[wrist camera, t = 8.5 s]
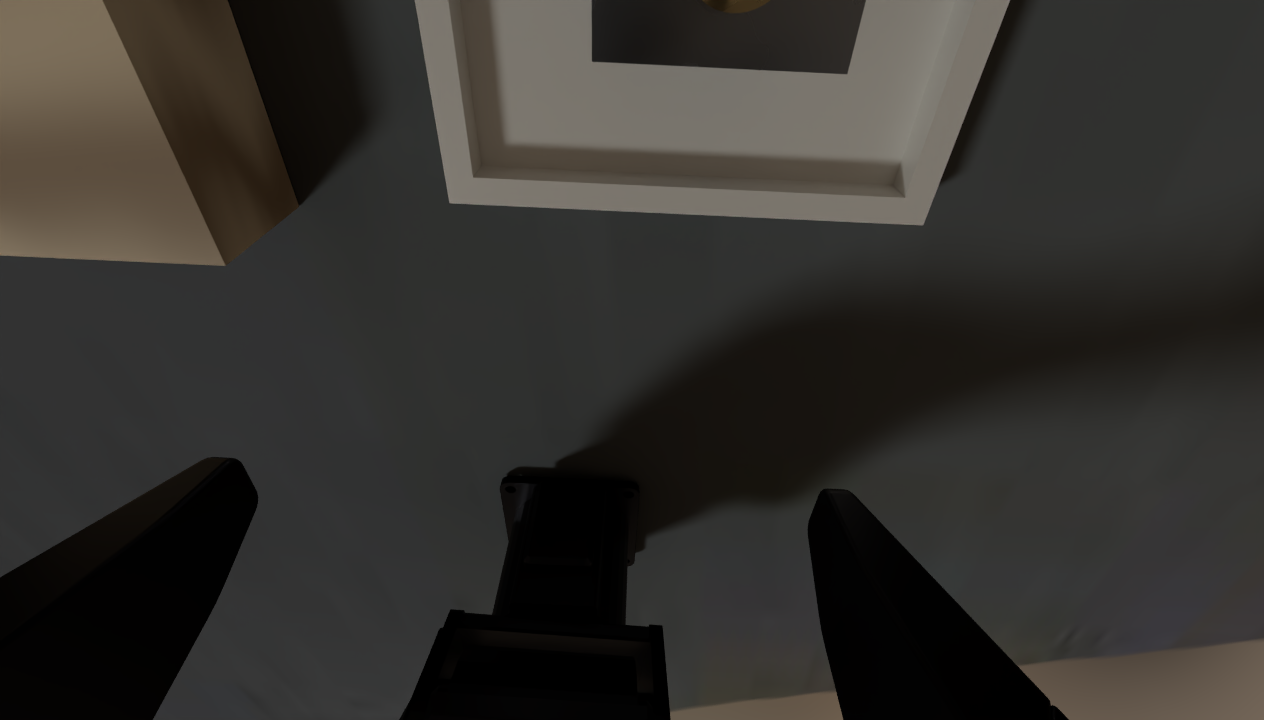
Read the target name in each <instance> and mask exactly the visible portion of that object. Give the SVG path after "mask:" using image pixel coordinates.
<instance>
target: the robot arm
mask: <svg viewBox="0 0 1264 720" xmlns="http://www.w3.org/2000/svg"><path fill="white" fill-rule="evenodd" d="M628 491H629V492H628ZM500 493H501V499H502V505H503V511H504V517H505V523H506V528H507V534H508V540H509V543H508V547H507V551H506V556H505V560H504V565H503V569H502V573H501V578H500V582H499V587H498V591H497V595H496V600H495V604H494V609H493V613H492V615H487V614H474V613H465V611H464V610H453V609H451V610H450V612H449V614H448V617H447V619H446V622H445V624H444V627H443V628H440V629H439V631H438V634H437V636H436V639H435V641H434V644H433V646H432V649H431V651H430V654H429V656H428V658H427V661H426V663H425V666H424V668H423V671H422V673H421V676H420V678H419V680H418V683H417V685H416V688H415V690H414V693H413V695H412V698H411V700H410V701H409V703H408V705H407V707H406V709H405V710H404V712H403V714H402V716H401V718H400V719H399V720H670V708H669V697H668V685H667V673H666V662H665V650H664V638H663V627H662V625H650V624H649V627H645V626H631V625H625V624H626V594H627V566H631V565H632V564H634V561H635V547H636V534H637V520H638V506H639V486H638V484H637V483H635V482H631V481H615V480H592V479H570V478H547V477H525V476H507V477H504V478H503V479H502V482H501V486H500ZM257 504H258V494H257V491H256V489H255V487H254V485H253V483H252V481H251V479H250V477H249V475H248V474H247V472H246V470H245V468H244V466H243V464H242V463H241V462H240V461H239V460H237V459H235V458H222V457H210V458H206V459H204V460H202V461H200V462H198V463H196V464H194V465H193V466H191V467H189V468H188V469H186V470H184V471H182V472H181V473H179V474H177V475H176V476H174V477H172V478H170V479H169V480H167V481H165V482H164V483H162V484H160V485H158V486H157V487H155V488H153V489H151V490H150V491H148V492H146V493H145V494H143V495H141V496H139V497H138V498H136V499H134V500H133V501H131V502H129V503H127V504H126V505H124V506H122V507H121V508H119V509H117V510H115V511H114V512H112V513H110V514H109V515H107V516H105V517H103V518H102V519H100V520H98V521H96V522H95V523H93V524H91V525H90V526H88V527H86V528H84V529H83V530H81V531H79V532H78V533H76V534H74V535H72V536H71V537H69V538H67V539H66V540H64V541H62V542H60V543H59V544H57V545H55V546H53V547H52V548H50V549H48V550H47V551H45V552H43V553H41V554H40V555H38V556H36V557H35V558H33V559H31V560H29V561H28V562H26V563H24V564H22V565H21V566H19V567H17V568H16V569H14V570H12V571H10V572H9V573H7V574H5V575H4V576H2V577H0V720H153V718H154V716H155V715H156V713H157V711H158V709H159V707H160V705H161V704H162V702H163V700H164V698H165V696H166V694H167V693H168V691H169V689H170V687H171V685H172V683H173V682H174V680H175V678H176V676H177V674H178V672H179V671H180V669H181V667H182V665H183V663H184V661H185V660H186V658H187V656H188V654H189V652H190V650H191V649H192V647H193V645H194V643H195V641H196V639H197V638H198V636H199V634H200V632H201V630H202V628H203V627H204V625H205V623H206V621H207V619H208V617H209V615H210V614H211V612H212V610H213V608H214V606H215V604H216V602H217V600H218V597H219V595H220V593H221V591H222V589H223V587H224V584H225V582H226V580H227V577H228V575H229V573H230V570H231V568H232V565H233V563H234V561H235V558H236V556H237V554H238V551H239V549H240V546H241V544H242V542H243V539H244V537H245V535H246V532H247V530H248V527H249V525H250V523H251V520H252V518H253V516H254V513H255V511H256V508H257ZM808 539H809V547H810V554H811V561H812V568H813V576H814V583H815V590H816V597H817V604H818V612H819V618H820V625H821V631H822V635H823V640H824V644H825V648H826V652H827V656H828V660H829V664H830V668H831V672H832V676H833V680H834V684H835V688H836V692H837V696H838V700H839V704H840V708H841V712H842V716H843V720H1069V719H1068V718H1067V717H1066V716H1065V715H1064V714H1063V713H1062V712H1061V711H1060V710H1059V709H1058V708H1057V707H1055V706H1053V705H1052V706H1051V704H1050V700H1049V699H1048V698H1047V697H1046V696H1045V695H1044V693H1043V692H1041V690H1040V689H1039V688H1038V687H1037V686H1036V685H1035V684H1034V683H1033V682H1032V681H1031V680H1030V679H1029V678H1028V677H1027V676H1026V675H1025V674H1024V673H1023V672H1022V670H1021V669H1020V668H1019V667H1018V666H1017V665H1016V664H1015V663H1014V662H1013V661H1012V660H1011V659H1010V658H1009V657H1008V656H1007V655H1006V654H1005V653H1004V652H1003V650H1002V649H1001V648H1000V647H999V646H998V645H997V644H996V643H995V642H994V641H993V640H992V639H991V638H990V637H989V636H988V635H987V634H986V633H985V632H984V631H983V629H982V628H981V627H980V626H979V625H978V624H977V623H976V622H975V621H974V620H973V619H972V618H971V617H970V616H969V615H968V614H967V613H966V612H965V611H964V610H963V608H962V607H961V606H960V605H959V604H958V603H957V602H956V601H955V600H954V599H953V598H952V597H951V596H950V595H949V594H948V593H947V592H946V591H945V590H944V589H943V588H942V586H941V585H940V584H939V583H938V582H937V581H936V580H935V579H934V578H933V577H932V576H931V575H930V574H929V573H928V572H927V571H926V570H925V569H924V568H923V567H922V565H921V564H920V563H919V562H918V561H917V560H916V559H915V558H914V557H913V556H912V555H911V554H910V553H909V552H908V551H907V550H906V549H905V548H904V547H903V546H902V544H901V543H900V542H899V541H898V540H897V539H896V538H895V537H894V536H893V535H892V534H891V533H890V532H889V531H888V530H887V529H886V528H885V527H884V526H883V525H882V523H881V522H880V521H879V520H878V519H877V518H876V517H875V516H874V515H873V514H872V513H871V512H870V511H869V510H868V509H867V508H866V507H865V506H864V505H863V504H862V502H861V501H860V500H859V499H858V498H857V497H856V496H855V495H854V494H853V493H851V492H850V491H848V490H844V489H823V490H822V491H821V492H820V494H819V496H818V498H817V501H816V503H815V506H814V509H813V511H812V514H811V517H810V519H809V523H808Z"/></svg>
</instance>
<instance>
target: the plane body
mask: <svg viewBox="0 0 1264 720" xmlns="http://www.w3.org/2000/svg"><path fill="white" fill-rule="evenodd" d="M298 207H299V205H298V202H297V199H296V196H295V193H294V190H293V188H292V185H291V182H290V179H289V176H288V173H287V170H286V167H285V164H284V162H283V159H282V156H281V153H280V150H279V147H278V144H277V141H276V138H275V136H274V133H273V130H272V127H271V124H270V121H269V118H268V115H267V112H266V110H265V107H264V104H263V101H262V98H261V95H260V92H259V89H258V86H257V84H256V81H255V78H254V75H253V72H252V69H251V66H250V63H249V60H248V58H247V55H246V52H245V49H244V46H243V43H242V40H241V37H240V35H239V32H238V29H237V26H236V23H235V20H234V17H233V14H232V11H231V9H230V6H229V3H228V0H0V255H3V256H25V257H46V258H68V259H90V260H111V261H133V262H155V263H176V264H198V265H220V266H226V265H227V264H228V263H230V262H231V261H232V260H233V259H235V258H236V257H237V256H238V255H240V254H241V253H242V252H243V251H245V250H246V249H247V248H248V247H250V246H251V245H252V244H253V243H254V242H256V241H257V240H258V239H259V238H261V237H262V236H263V235H264V234H266V233H267V232H268V231H269V230H271V229H272V228H273V227H274V226H276V225H277V224H278V223H279V222H281V221H282V220H283V219H284V218H286V217H287V216H288V215H289V214H291V213H292V212H293V211H294V210H296V209H297V208H298Z"/></svg>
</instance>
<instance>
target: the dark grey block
mask: <svg viewBox="0 0 1264 720" xmlns="http://www.w3.org/2000/svg"><path fill="white" fill-rule="evenodd" d="M865 2H866V0H592V62H606V63H627V64H647V65H667V66H687V67H708V68H728V69H748V70H768V71H788V72H809V73H829V74H848V70H849V66H850V62H851V58H852V54H853V50H854V46H855V42H856V38H857V34H858V30H859V26H860V22H861V18H862V14H863V10H864V6H865Z"/></svg>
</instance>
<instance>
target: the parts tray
mask: <svg viewBox="0 0 1264 720" xmlns="http://www.w3.org/2000/svg"><path fill="white" fill-rule="evenodd" d="M1009 2H1010V0H866V2H865V6H864V10H863V14H862V18H861V22H860V26H859V30H858V34H857V38H856V42H855V46H854V50H853V54H852V58H851V62H850V66H849V70H848V74H829V73H809V72H788V71H768V70H748V69H728V68H708V67H687V66H667V65H647V64H627V63H606V62H592V0H415V4H416V10H417V16H418V21H419V27H420V33H421V39H422V45H423V51H424V57H425V62H426V68H427V74H428V80H429V86H430V92H431V97H432V103H433V109H434V115H435V121H436V127H437V133H438V138H439V144H440V150H441V156H442V162H443V168H444V174H445V179H446V185H447V191H448V197H449V203H456V204H478V205H499V206H520V207H542V208H563V209H585V210H606V211H627V212H649V213H670V214H692V215H713V216H735V217H756V218H777V219H799V220H820V221H842V222H863V223H884V224H906V225H923V224H924V222H925V219H926V217H927V214H928V211H929V209H930V206H931V204H932V201H933V198H934V196H935V193H936V191H937V188H938V185H939V183H940V180H941V178H942V175H943V173H944V170H945V167H946V165H947V162H948V160H949V157H950V154H951V152H952V149H953V147H954V144H955V142H956V139H957V136H958V134H959V131H960V129H961V126H962V123H963V121H964V118H965V116H966V113H967V110H968V108H969V105H970V103H971V100H972V98H973V95H974V92H975V90H976V87H977V85H978V82H979V79H980V77H981V74H982V72H983V69H984V67H985V64H986V61H987V59H988V56H989V54H990V51H991V48H992V46H993V43H994V41H995V38H996V35H997V33H998V30H999V28H1000V25H1001V23H1002V20H1003V17H1004V15H1005V12H1006V10H1007V7H1008V4H1009Z"/></svg>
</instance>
